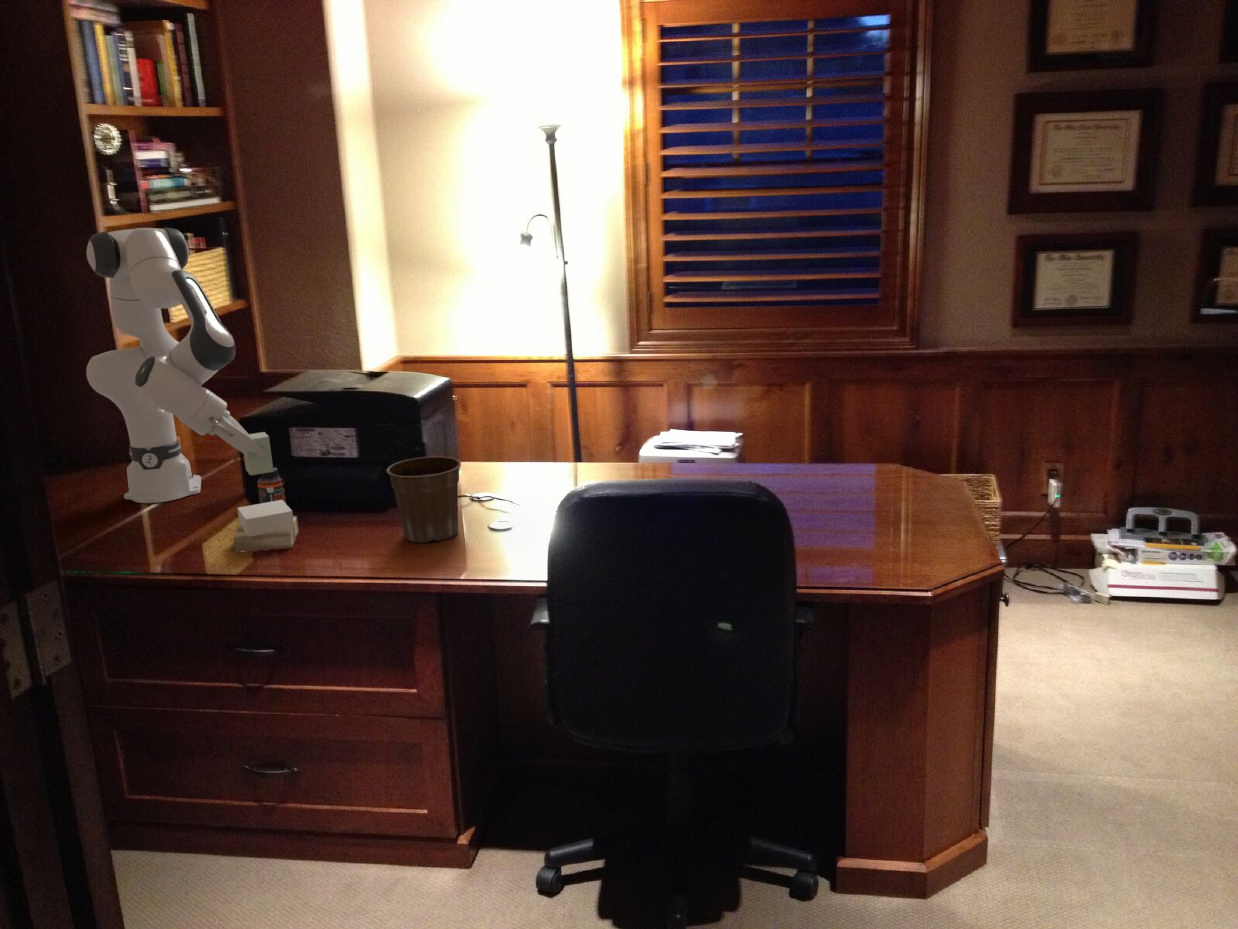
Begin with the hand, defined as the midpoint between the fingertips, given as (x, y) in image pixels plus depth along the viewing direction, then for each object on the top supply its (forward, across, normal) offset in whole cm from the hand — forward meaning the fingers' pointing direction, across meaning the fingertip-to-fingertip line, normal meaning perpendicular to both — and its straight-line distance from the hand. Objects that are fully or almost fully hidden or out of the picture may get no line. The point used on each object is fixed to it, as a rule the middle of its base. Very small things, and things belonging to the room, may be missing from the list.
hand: (260, 451), depth 244 cm
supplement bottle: (+18, +20, +12) cm, 29 cm away
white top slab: (+12, 0, +13) cm, 17 cm away
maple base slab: (+14, 0, +16) cm, 21 cm away
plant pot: (+37, -17, -7) cm, 41 cm away
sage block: (+3, 0, +4) cm, 4 cm away
